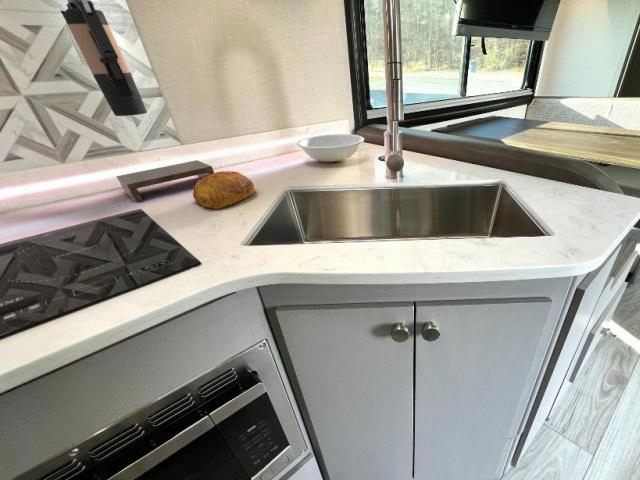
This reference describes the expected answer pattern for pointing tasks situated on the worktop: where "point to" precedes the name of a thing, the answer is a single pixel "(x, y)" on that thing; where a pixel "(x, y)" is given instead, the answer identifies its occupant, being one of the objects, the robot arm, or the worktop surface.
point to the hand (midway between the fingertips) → (122, 95)
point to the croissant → (222, 189)
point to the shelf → (161, 176)
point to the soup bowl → (331, 146)
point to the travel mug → (98, 69)
